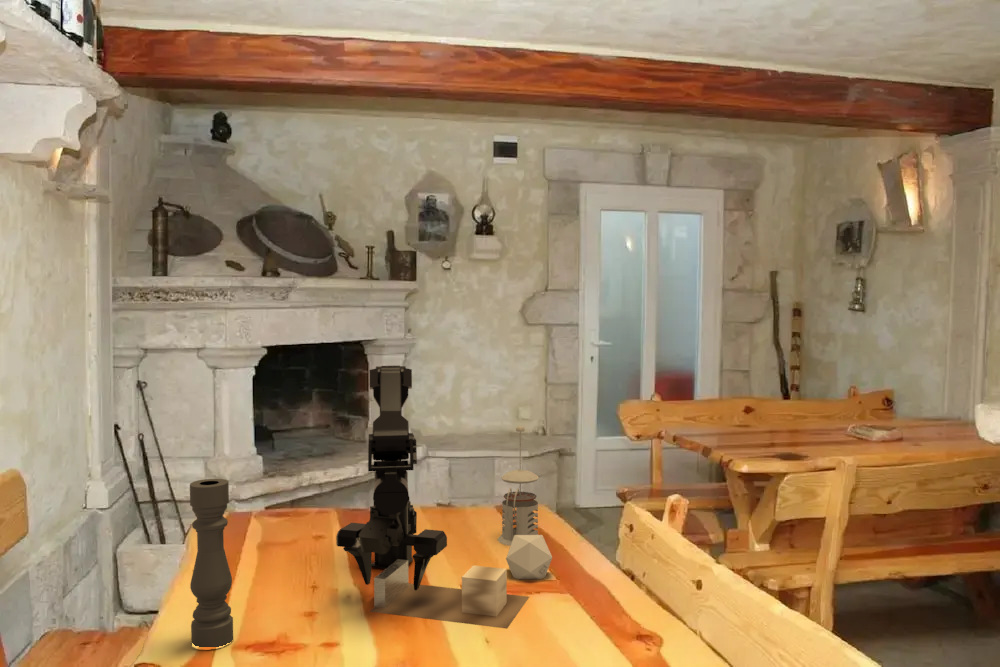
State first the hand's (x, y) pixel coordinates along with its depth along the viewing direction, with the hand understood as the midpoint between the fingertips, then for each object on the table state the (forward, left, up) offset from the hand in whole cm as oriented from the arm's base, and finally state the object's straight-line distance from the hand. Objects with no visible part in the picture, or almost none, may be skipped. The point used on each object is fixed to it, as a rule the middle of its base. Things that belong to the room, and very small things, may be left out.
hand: (391, 586), depth 145 cm
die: (+20, +18, -3) cm, 27 cm away
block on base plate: (+11, 0, -3) cm, 11 cm away
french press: (+12, +40, -3) cm, 42 cm away
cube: (+17, 0, -2) cm, 17 cm away
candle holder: (-20, -23, -3) cm, 31 cm away
